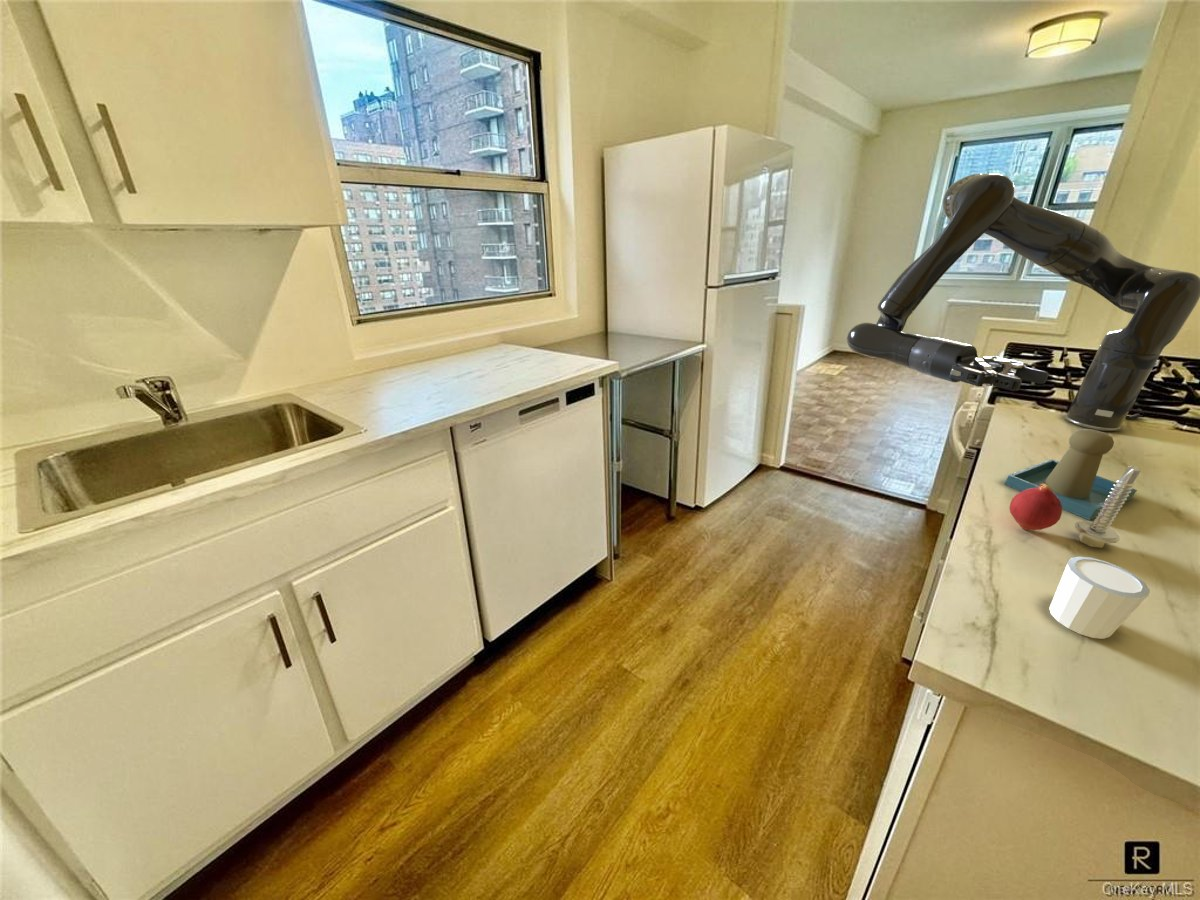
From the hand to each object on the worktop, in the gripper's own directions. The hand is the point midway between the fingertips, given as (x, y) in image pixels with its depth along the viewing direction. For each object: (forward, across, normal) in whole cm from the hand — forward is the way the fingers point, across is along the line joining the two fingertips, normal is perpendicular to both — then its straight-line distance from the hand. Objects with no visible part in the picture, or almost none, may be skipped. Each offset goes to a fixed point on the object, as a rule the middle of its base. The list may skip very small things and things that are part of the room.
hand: (1033, 382), depth 85 cm
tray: (+11, 0, +17) cm, 20 cm away
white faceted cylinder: (+27, -34, +17) cm, 47 cm away
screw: (+20, -14, +17) cm, 30 cm away
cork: (+11, 0, +16) cm, 20 cm away
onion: (+14, -19, +17) cm, 29 cm away
